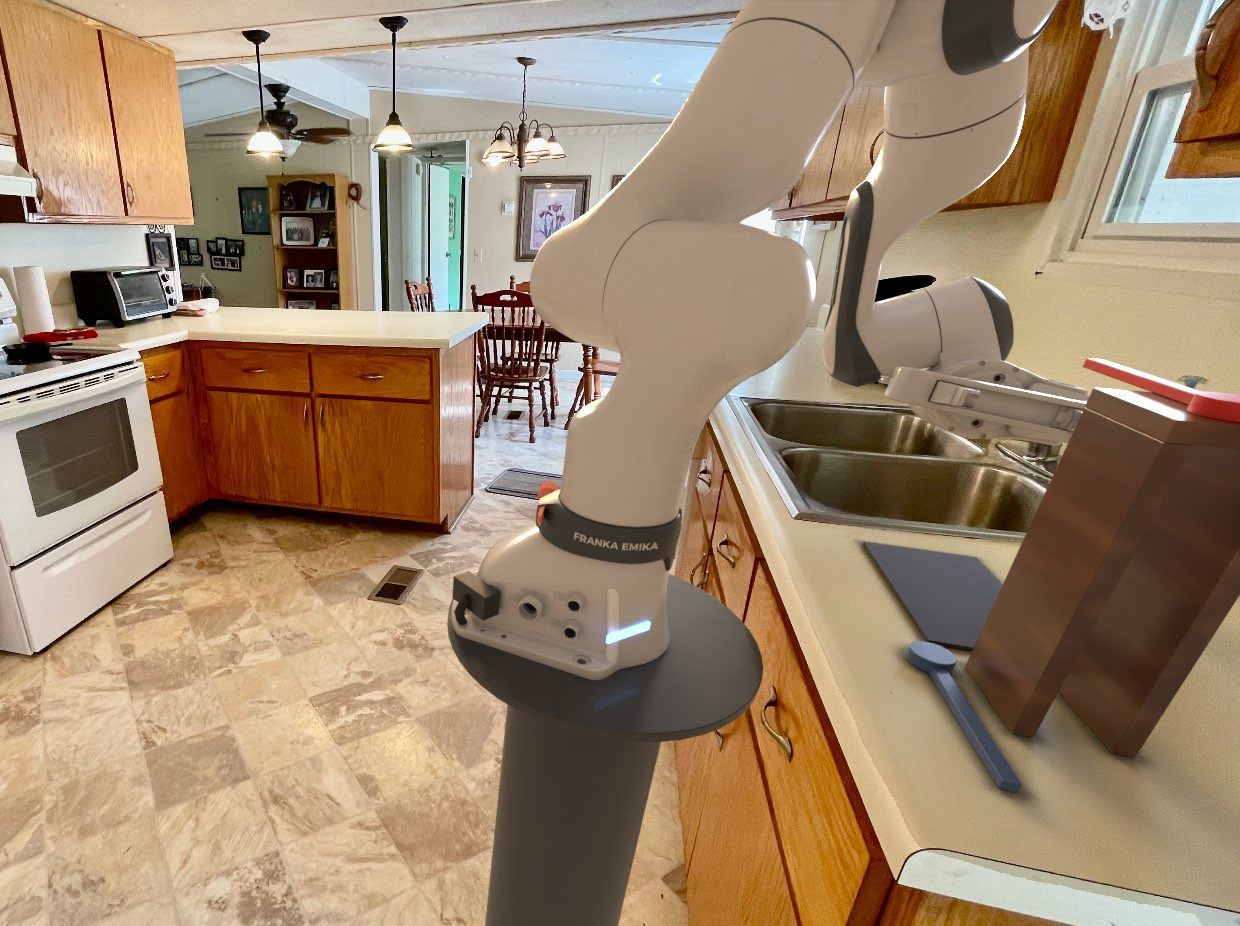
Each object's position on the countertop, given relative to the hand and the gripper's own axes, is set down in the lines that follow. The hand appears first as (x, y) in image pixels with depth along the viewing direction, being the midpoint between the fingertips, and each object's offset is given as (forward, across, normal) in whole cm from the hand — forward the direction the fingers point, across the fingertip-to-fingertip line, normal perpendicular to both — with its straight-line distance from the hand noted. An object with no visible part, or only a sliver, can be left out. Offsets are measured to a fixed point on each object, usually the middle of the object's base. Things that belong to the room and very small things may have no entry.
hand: (1026, 410), depth 63 cm
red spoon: (+14, +2, -3) cm, 14 cm away
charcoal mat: (-3, +3, +20) cm, 21 cm away
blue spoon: (+19, -1, +24) cm, 30 cm away
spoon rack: (+15, +6, +23) cm, 28 cm away
